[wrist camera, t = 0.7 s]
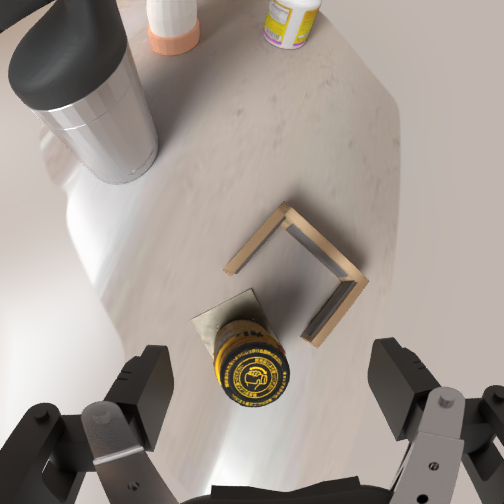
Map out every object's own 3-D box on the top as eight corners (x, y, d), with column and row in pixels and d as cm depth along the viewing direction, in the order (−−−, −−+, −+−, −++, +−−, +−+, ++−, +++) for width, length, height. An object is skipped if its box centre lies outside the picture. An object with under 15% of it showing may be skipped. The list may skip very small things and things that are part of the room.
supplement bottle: (304, 28, 39) (327, -29, 26) (305, 54, 38) (332, -6, 25) (263, 21, 38) (277, -40, 25) (260, 47, 37) (277, -18, 24)
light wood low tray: (223, 269, 33) (224, 268, 29) (276, 210, 35) (284, 200, 31) (306, 341, 34) (317, 348, 30) (353, 281, 35) (369, 280, 31)
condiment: (228, 384, 32) (236, 432, 20) (191, 319, 32) (179, 339, 21) (285, 354, 33) (320, 387, 22) (250, 288, 34) (270, 291, 22)
